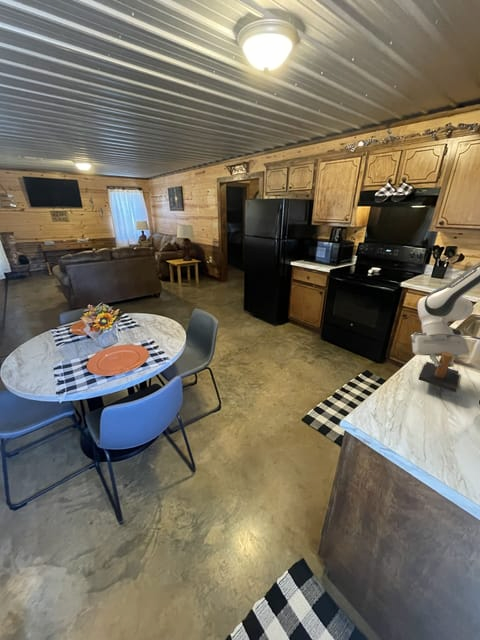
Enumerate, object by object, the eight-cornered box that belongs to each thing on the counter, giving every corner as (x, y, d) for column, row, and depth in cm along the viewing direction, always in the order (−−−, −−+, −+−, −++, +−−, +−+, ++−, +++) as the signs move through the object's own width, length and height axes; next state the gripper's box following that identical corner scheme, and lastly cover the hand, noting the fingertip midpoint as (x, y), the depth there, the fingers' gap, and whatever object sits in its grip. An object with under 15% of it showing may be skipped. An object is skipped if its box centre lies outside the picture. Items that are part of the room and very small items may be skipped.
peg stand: (424, 363, 116) (432, 340, 112) (458, 374, 109) (468, 350, 105) (418, 379, 106) (426, 354, 101) (455, 392, 98) (466, 366, 94)
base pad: (425, 364, 124) (426, 361, 124) (457, 374, 117) (458, 371, 116) (421, 375, 116) (422, 372, 115) (455, 386, 109) (456, 383, 108)
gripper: (414, 330, 105) (422, 363, 100) (467, 331, 105) (477, 365, 100) (406, 334, 111) (412, 367, 106) (455, 336, 111) (464, 368, 106)
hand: (444, 366), depth 103 cm, fingers closed on peg stand, 3 cm apart
